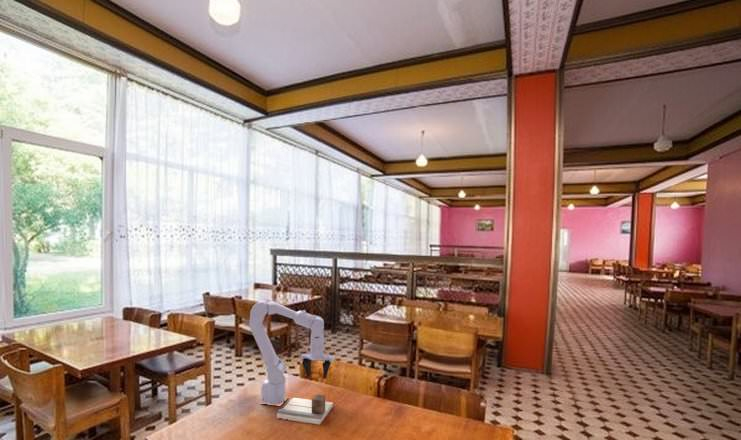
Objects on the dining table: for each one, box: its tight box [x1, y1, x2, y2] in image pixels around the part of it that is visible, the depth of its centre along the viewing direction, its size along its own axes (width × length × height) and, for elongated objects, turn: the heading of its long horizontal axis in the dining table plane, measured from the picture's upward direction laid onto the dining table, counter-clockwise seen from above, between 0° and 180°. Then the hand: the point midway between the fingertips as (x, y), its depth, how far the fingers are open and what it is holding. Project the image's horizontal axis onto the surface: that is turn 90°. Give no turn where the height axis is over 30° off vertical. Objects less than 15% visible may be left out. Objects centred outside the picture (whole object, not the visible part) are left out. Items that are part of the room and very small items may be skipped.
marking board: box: [276, 397, 334, 425], centre depth 134 cm, size 18×14×2 cm
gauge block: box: [311, 394, 326, 415], centre depth 131 cm, size 4×4×6 cm
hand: (316, 377), depth 145 cm, fingers open, 7 cm apart
